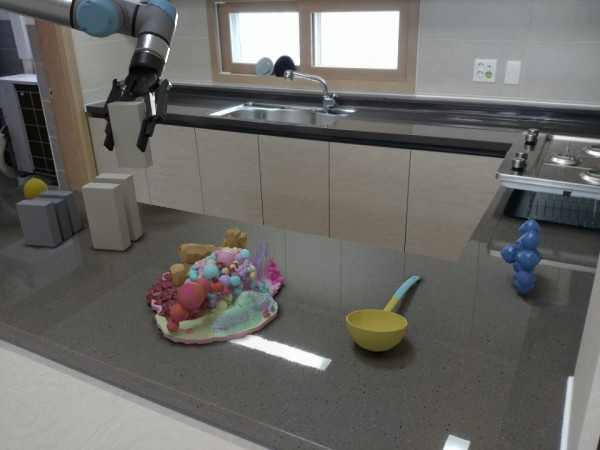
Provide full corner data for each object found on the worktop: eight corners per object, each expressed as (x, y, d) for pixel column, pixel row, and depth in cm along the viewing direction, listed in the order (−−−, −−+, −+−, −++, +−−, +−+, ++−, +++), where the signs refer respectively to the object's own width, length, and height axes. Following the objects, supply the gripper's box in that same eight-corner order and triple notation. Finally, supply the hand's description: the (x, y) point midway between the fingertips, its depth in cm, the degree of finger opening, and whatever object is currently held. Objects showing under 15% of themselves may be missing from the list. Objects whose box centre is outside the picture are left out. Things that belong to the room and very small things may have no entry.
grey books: (54, 226, 124) (45, 188, 120) (81, 228, 122) (73, 189, 118) (26, 244, 115) (15, 203, 111) (54, 247, 113) (44, 205, 110)
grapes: (496, 268, 99) (504, 207, 94) (536, 272, 97) (546, 211, 92) (495, 299, 89) (503, 233, 84) (539, 305, 87) (550, 238, 82)
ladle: (334, 353, 76) (336, 314, 75) (391, 301, 99) (393, 271, 98) (395, 367, 72) (398, 326, 71) (439, 310, 95) (441, 278, 94)
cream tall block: (125, 163, 122) (114, 101, 116) (153, 164, 121) (144, 101, 115) (118, 167, 119) (107, 104, 114) (147, 168, 118) (137, 104, 112)
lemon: (26, 207, 136) (19, 177, 133) (49, 202, 139) (42, 172, 135) (30, 213, 132) (22, 183, 128) (53, 208, 134) (47, 178, 131)
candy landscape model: (133, 285, 97) (125, 239, 93) (251, 254, 107) (248, 211, 104) (175, 359, 77) (167, 304, 73) (316, 312, 87) (315, 261, 84)
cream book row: (113, 233, 119) (102, 172, 114) (142, 235, 118) (132, 174, 112) (93, 248, 112) (80, 185, 107) (123, 250, 111) (112, 186, 105)
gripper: (195, 70, 124) (174, 158, 116) (117, 71, 128) (92, 155, 120) (183, 49, 117) (159, 140, 109) (101, 50, 122) (73, 138, 114)
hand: (124, 148), depth 115 cm, fingers closed on cream tall block, 7 cm apart
